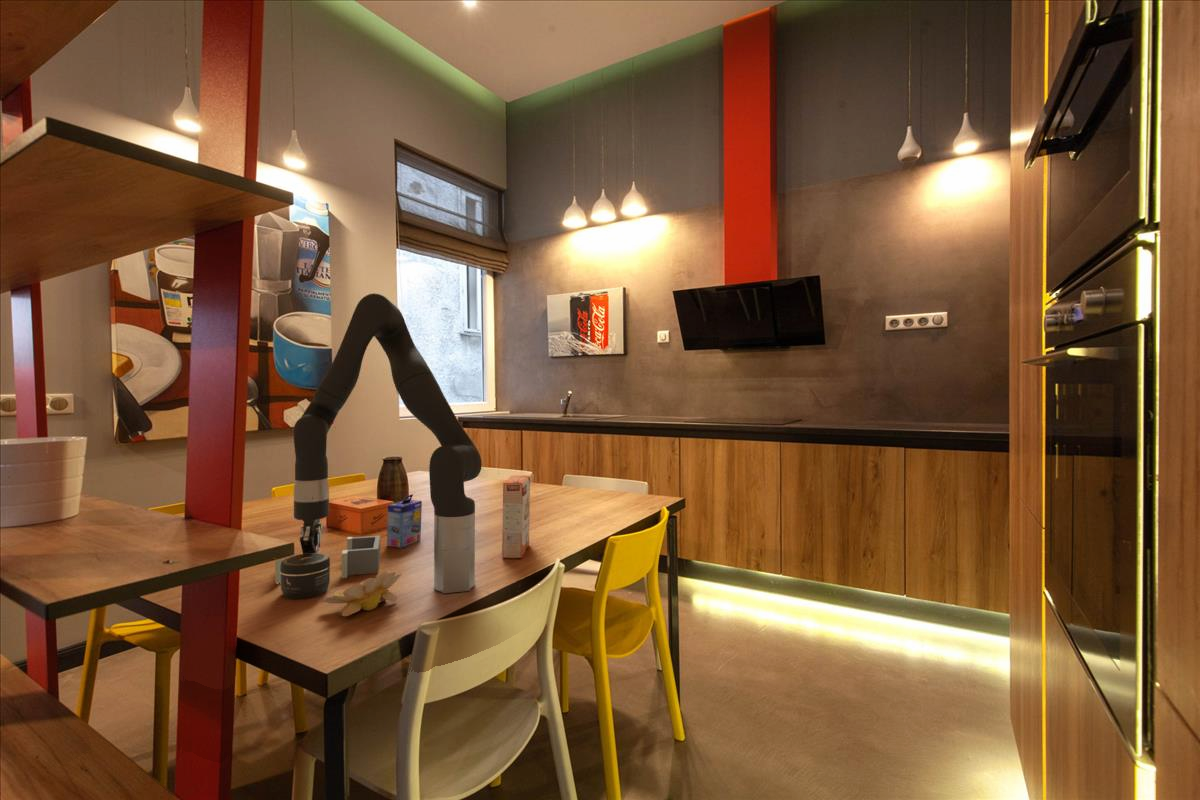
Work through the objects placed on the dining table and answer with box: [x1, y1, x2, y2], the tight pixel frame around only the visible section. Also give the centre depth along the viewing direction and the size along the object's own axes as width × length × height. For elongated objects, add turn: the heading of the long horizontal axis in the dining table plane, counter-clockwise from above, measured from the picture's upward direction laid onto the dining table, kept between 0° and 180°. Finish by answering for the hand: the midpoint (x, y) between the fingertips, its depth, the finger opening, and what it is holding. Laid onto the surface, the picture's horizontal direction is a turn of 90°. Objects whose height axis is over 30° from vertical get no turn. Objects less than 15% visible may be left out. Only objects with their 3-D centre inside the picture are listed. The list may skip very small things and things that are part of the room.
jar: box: [280, 552, 331, 600], centre depth 127 cm, size 10×10×8 cm
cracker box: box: [501, 474, 531, 559], centre depth 160 cm, size 14×6×21 cm, turn 179°
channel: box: [274, 535, 381, 585], centre depth 143 cm, size 16×22×6 cm
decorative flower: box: [321, 571, 402, 617], centre depth 119 cm, size 15×11×10 cm
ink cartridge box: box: [386, 493, 423, 549], centre depth 168 cm, size 10×6×14 cm, turn 163°
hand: (311, 569), depth 135 cm, fingers closed
